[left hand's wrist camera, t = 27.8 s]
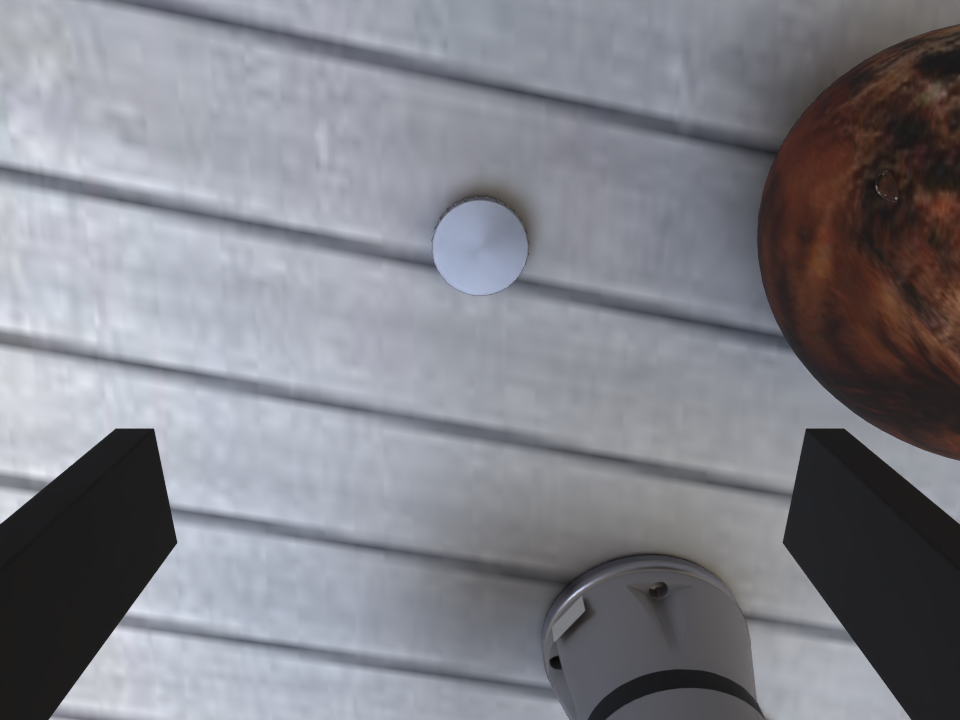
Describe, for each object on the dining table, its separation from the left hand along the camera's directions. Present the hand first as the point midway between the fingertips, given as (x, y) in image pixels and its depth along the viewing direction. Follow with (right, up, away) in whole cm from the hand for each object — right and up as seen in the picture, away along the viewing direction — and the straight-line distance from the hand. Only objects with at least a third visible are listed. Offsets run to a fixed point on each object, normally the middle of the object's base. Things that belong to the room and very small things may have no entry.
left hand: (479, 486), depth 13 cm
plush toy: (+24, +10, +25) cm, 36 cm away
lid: (0, +9, +23) cm, 25 cm away
